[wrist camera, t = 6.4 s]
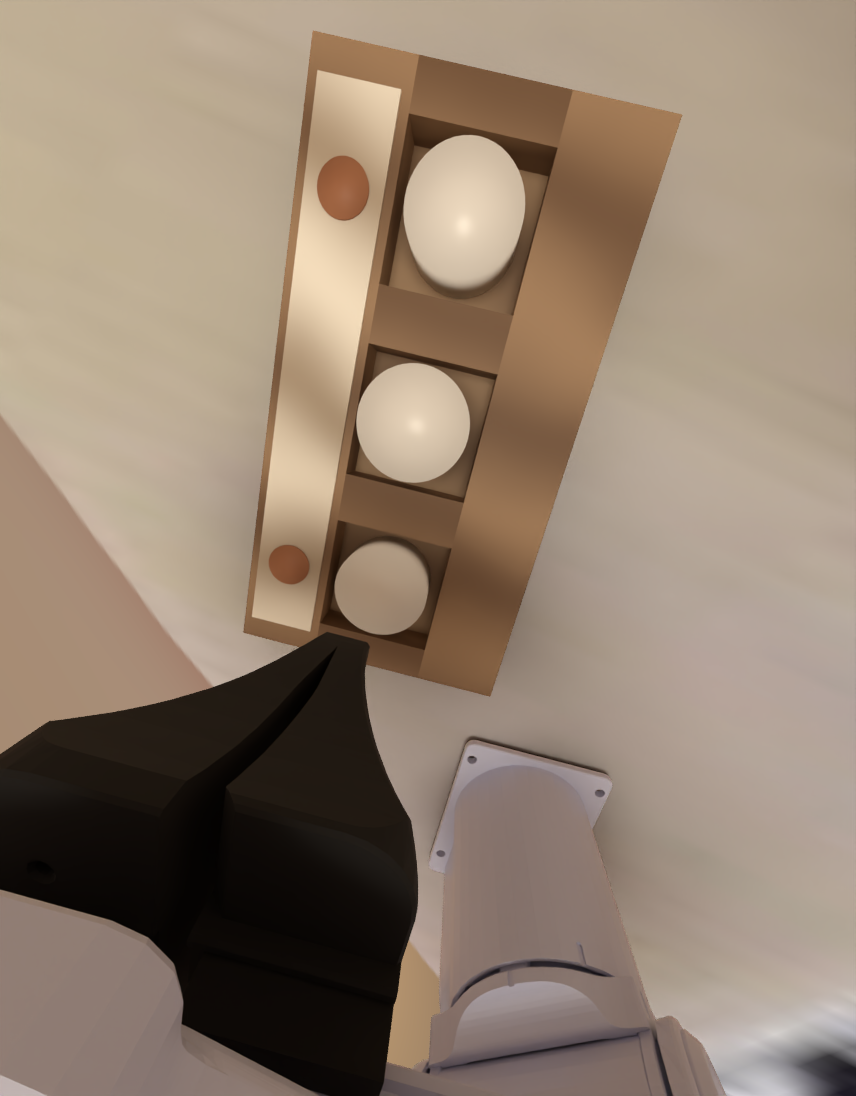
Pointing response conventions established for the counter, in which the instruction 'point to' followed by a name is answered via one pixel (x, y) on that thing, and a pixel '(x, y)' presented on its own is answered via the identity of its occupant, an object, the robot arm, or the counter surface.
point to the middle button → (413, 422)
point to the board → (438, 344)
